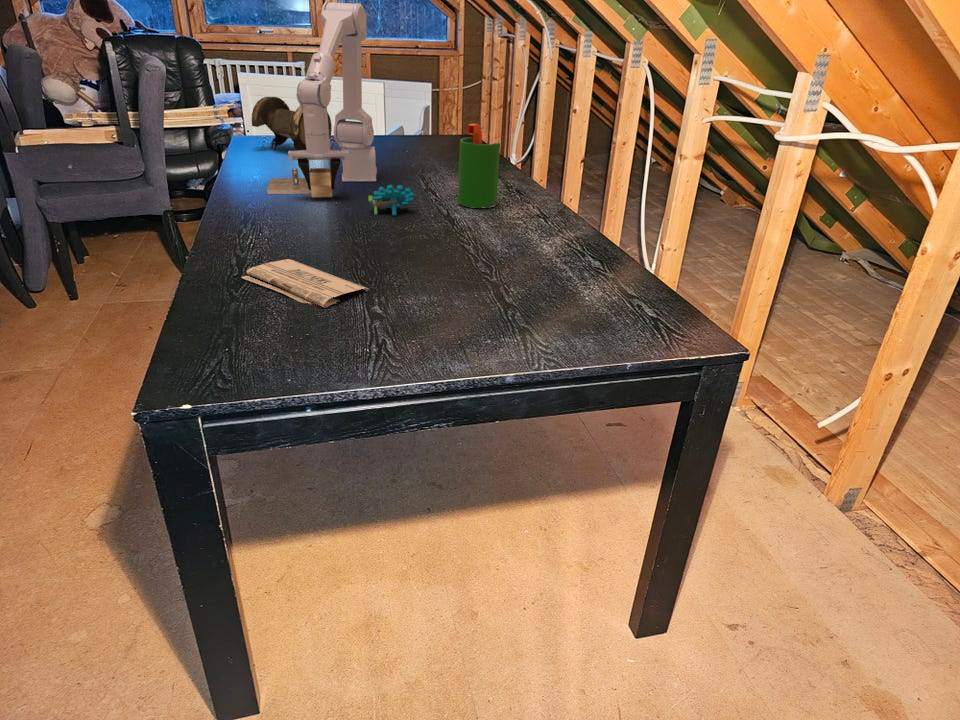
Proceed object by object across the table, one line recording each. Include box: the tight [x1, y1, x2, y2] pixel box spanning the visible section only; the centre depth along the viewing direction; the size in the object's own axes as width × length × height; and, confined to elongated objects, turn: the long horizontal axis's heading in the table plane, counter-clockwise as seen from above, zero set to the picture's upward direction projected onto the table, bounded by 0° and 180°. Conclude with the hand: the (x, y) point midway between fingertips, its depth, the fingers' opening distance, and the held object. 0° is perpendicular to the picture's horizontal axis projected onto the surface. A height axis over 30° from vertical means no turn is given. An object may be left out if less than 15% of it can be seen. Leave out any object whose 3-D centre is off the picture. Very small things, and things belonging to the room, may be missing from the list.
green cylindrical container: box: [457, 122, 501, 208], centre depth 163 cm, size 10×9×20 cm
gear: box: [367, 184, 415, 217], centre depth 157 cm, size 11×6×10 cm
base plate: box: [266, 167, 311, 195], centre depth 174 cm, size 16×12×5 cm
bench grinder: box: [251, 96, 333, 151], centre depth 208 cm, size 20×22×20 cm
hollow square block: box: [309, 167, 333, 198], centre depth 165 cm, size 5×5×6 cm
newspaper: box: [240, 258, 370, 308], centre depth 119 cm, size 23×12×2 cm, turn 52°
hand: (321, 188), depth 166 cm, fingers closed on hollow square block, 5 cm apart
